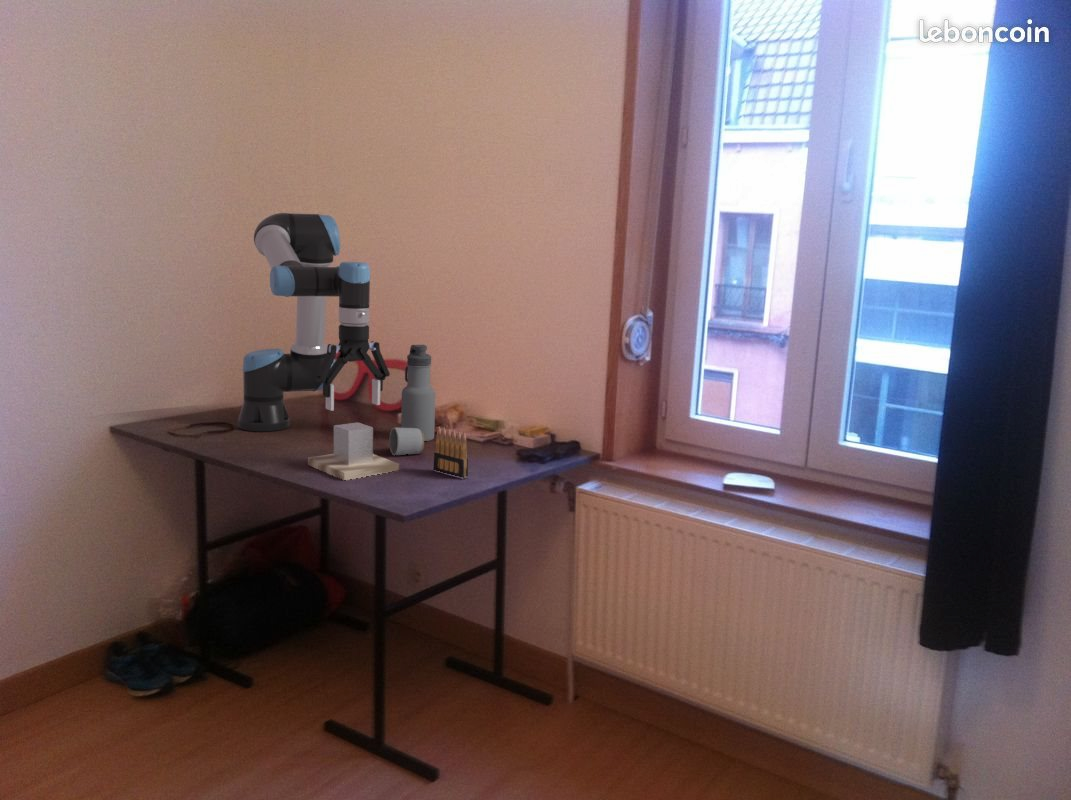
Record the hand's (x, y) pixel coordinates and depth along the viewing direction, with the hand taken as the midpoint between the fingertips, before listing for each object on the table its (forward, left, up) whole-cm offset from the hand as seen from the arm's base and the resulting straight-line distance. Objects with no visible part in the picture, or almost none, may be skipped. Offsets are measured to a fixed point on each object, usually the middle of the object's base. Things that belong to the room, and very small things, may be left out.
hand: (353, 406), depth 234 cm
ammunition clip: (+19, +17, -16) cm, 30 cm away
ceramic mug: (-6, +20, -16) cm, 27 cm away
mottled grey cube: (0, 0, -14) cm, 14 cm away
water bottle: (-18, +33, -16) cm, 41 cm away
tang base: (0, 0, -16) cm, 16 cm away
